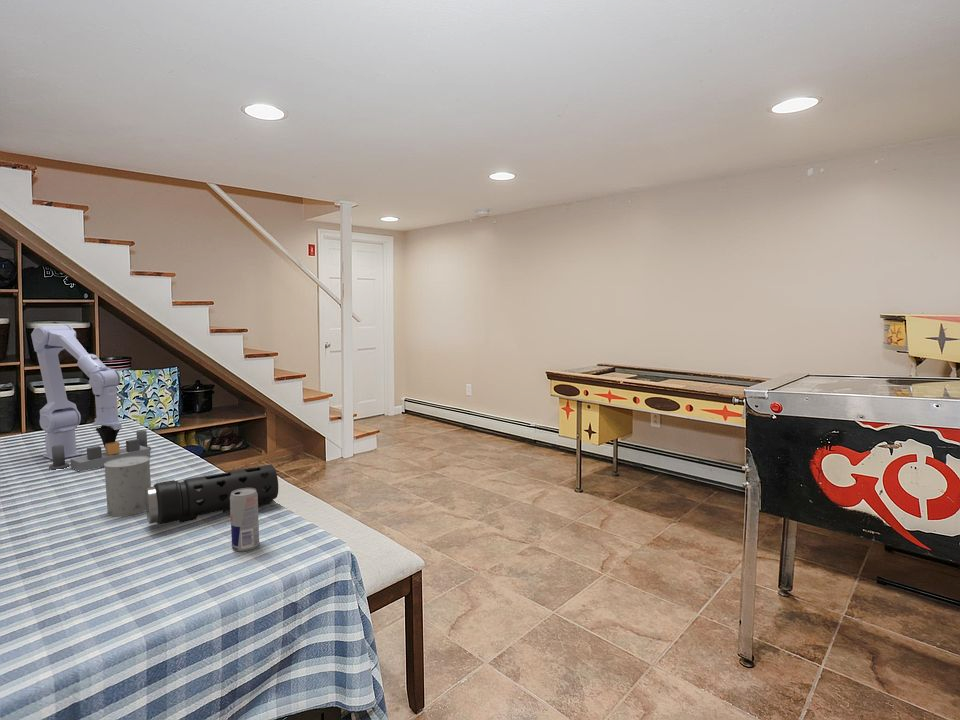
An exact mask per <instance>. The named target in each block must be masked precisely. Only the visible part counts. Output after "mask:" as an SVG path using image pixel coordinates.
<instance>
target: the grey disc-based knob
mask: <svg viewBox="0 0 960 720" xmlns="http://www.w3.org/2000/svg"><path fill="white" fill-rule="evenodd" d="M52 459H53V460H52ZM52 459H51V460H52V464H51V465H49V466H48V470H49V469H51V470H56V469H64V468H67V467H69V466H70V462H66V458H65V453H64V445H58V446H53V447H52ZM69 468H70V467H69ZM67 469H68V468H67ZM64 470H65V469H64Z"/></svg>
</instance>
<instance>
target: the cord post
mask: <svg viewBox="0 0 960 720" xmlns="http://www.w3.org/2000/svg"><path fill="white" fill-rule="evenodd" d="M147 432H148V431H147V430H137V431H136V439H139V443H140V445H141V446H144V447H147V448H150V450H151V451H152V447H151V446H148V435H147V434H148V433H147Z"/></svg>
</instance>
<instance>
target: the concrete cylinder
mask: <svg viewBox="0 0 960 720" xmlns="http://www.w3.org/2000/svg"><path fill="white" fill-rule="evenodd" d="M150 460H151V457H147V456H128V457H122V458H117V459H113V460H110V461H107V462H105V463H104V467H103V468H104V479H105V493H106V495H105V496H106V507H107V508H106V509H107V510H106V513H107V515H108V516H112V517H126V516H133V515H136V514H140V513H143V512H146V505H145V489H146V488H148V487H152V483H151V482H152V480H151V479H152V478H151V466H150V465H151V464H150V463H151V462H150Z"/></svg>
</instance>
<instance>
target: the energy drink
mask: <svg viewBox="0 0 960 720" xmlns="http://www.w3.org/2000/svg"><path fill="white" fill-rule="evenodd" d="M229 512H230V531H231V532H230V534H231V536H230V537H231V548H232V550H234V551H236V552H247V551H251V550H254V549H255V548H257V547H258V546H259V544H260V529H259V528H260V524H259V521H260V520H259V505H258V494H257V492H256V489H254V488H241V489H237V490H234V491H232V492H231V496H230V510H229Z"/></svg>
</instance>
